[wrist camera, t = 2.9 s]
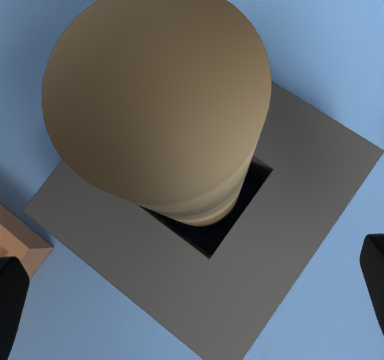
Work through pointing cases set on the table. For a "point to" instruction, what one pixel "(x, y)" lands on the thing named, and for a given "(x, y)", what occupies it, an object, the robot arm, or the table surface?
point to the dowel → (160, 103)
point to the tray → (21, 242)
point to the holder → (233, 242)
